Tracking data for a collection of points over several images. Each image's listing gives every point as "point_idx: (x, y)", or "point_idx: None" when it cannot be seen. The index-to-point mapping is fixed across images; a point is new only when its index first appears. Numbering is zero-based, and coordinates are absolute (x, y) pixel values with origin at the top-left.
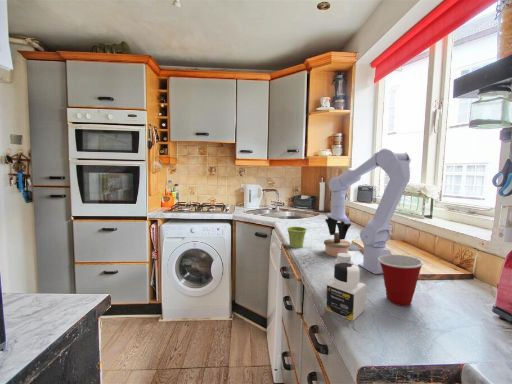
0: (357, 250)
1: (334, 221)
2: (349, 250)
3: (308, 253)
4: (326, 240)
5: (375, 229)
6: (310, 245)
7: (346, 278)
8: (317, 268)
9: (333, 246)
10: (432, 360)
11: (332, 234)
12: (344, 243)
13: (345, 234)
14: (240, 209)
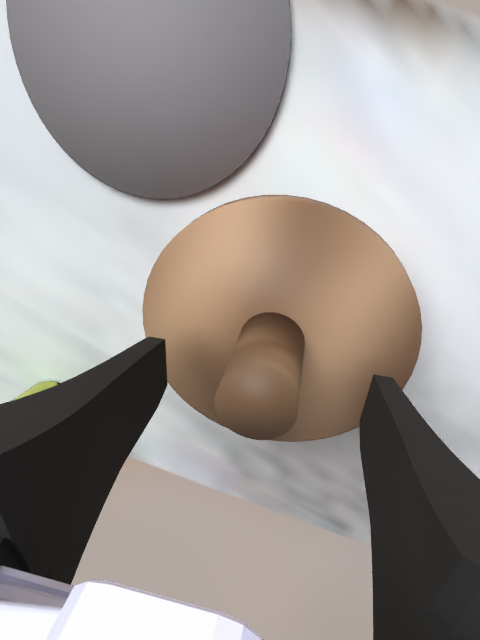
0: (287, 9)
1: (49, 493)
2: (256, 116)
3: (208, 430)
4: (182, 381)
5: None
6: (48, 328)
7: None
8: None
9: (347, 424)
10: None
11: (164, 369)
12: (337, 299)
13: (418, 424)
14: None
